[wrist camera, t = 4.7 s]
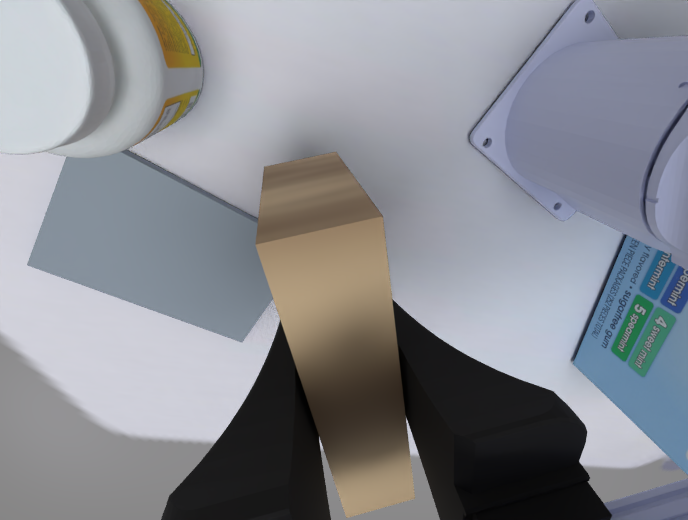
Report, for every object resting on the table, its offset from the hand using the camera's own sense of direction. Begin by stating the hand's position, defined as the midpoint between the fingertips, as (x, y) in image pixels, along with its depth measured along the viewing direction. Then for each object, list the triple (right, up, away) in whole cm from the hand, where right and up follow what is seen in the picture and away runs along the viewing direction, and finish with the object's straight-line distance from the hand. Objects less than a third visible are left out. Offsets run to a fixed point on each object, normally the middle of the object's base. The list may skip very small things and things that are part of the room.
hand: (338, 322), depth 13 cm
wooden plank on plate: (0, +1, +2) cm, 2 cm away
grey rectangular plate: (-9, +3, +7) cm, 12 cm away
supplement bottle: (-9, +11, +2) cm, 14 cm away
